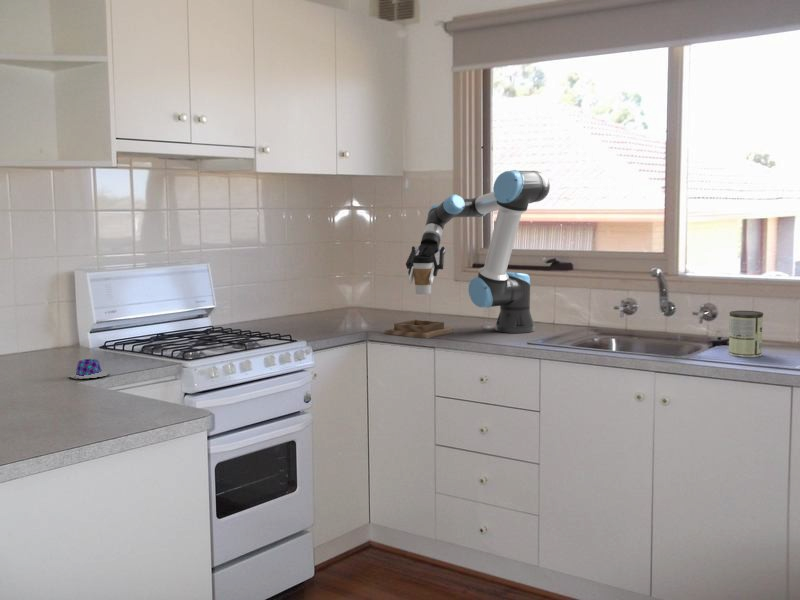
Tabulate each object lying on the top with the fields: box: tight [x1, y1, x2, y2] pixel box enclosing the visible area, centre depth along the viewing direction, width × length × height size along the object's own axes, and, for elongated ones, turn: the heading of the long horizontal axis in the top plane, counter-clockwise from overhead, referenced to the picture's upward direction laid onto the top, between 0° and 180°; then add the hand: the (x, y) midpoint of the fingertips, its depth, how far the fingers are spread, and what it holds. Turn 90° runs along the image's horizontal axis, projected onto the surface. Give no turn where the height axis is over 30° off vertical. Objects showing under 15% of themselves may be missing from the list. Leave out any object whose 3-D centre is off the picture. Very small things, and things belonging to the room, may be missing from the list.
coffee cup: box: [412, 254, 434, 295], centre depth 347 cm, size 8×8×15 cm
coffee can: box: [728, 310, 764, 358], centre depth 290 cm, size 10×10×14 cm
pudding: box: [75, 358, 103, 376], centre depth 266 cm, size 12×12×5 cm
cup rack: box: [384, 319, 454, 339], centre depth 346 cm, size 20×18×4 cm
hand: (420, 281), depth 344 cm, fingers closed on coffee cup, 8 cm apart
